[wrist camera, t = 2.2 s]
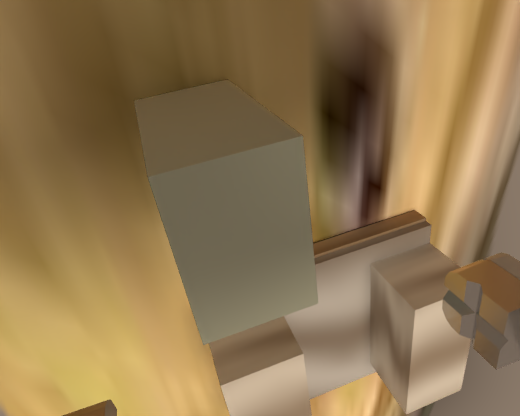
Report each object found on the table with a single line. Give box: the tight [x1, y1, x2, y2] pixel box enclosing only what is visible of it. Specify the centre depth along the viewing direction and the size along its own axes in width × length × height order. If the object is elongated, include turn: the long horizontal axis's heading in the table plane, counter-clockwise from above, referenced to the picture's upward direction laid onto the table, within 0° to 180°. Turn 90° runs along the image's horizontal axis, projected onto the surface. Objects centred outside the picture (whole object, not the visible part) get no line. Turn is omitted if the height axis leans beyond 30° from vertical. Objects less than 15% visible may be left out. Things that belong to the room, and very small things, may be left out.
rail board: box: [209, 210, 471, 416], centre depth 23 cm, size 12×14×6 cm
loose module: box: [134, 79, 318, 345], centre depth 15 cm, size 6×4×8 cm, turn 9°
